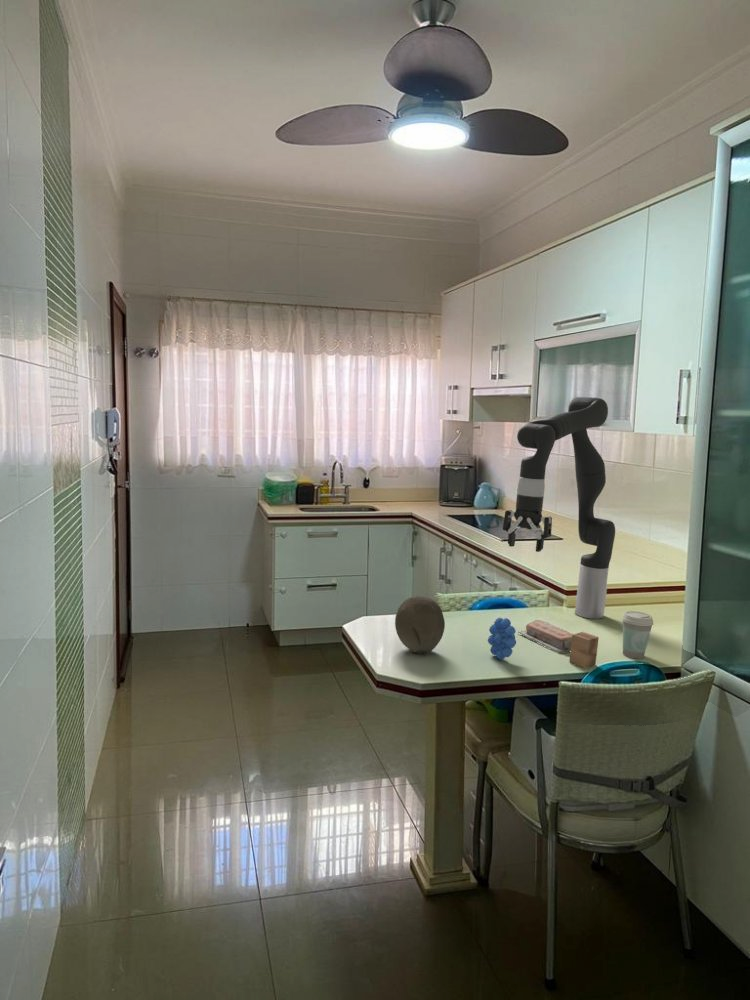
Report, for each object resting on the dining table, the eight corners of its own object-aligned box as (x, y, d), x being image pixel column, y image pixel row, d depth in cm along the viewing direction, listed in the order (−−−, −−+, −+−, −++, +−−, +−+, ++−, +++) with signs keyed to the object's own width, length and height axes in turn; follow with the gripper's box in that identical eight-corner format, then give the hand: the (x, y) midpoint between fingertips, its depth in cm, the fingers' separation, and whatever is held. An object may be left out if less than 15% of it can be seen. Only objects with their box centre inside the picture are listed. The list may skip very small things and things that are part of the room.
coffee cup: (625, 659, 205) (630, 618, 204) (613, 649, 214) (618, 609, 212) (654, 661, 206) (659, 620, 204) (641, 650, 214) (646, 611, 213)
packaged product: (586, 635, 211) (560, 639, 206) (584, 651, 211) (558, 655, 206) (543, 617, 226) (518, 620, 221) (541, 632, 227) (517, 635, 222)
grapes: (525, 665, 195) (529, 622, 193) (503, 667, 192) (508, 624, 190) (501, 650, 205) (505, 609, 204) (481, 652, 203) (485, 611, 201)
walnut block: (579, 659, 203) (582, 631, 202) (595, 665, 199) (598, 637, 198) (569, 662, 200) (572, 634, 199) (585, 668, 196) (588, 640, 195)
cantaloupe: (453, 653, 200) (458, 600, 198) (417, 663, 191) (422, 608, 189) (417, 638, 211) (421, 588, 208) (381, 647, 201) (385, 594, 199)
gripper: (559, 496, 208) (553, 551, 210) (514, 489, 217) (509, 543, 219) (547, 498, 202) (541, 555, 204) (502, 491, 211) (496, 545, 213)
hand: (524, 548), depth 212 cm, fingers open, 8 cm apart
